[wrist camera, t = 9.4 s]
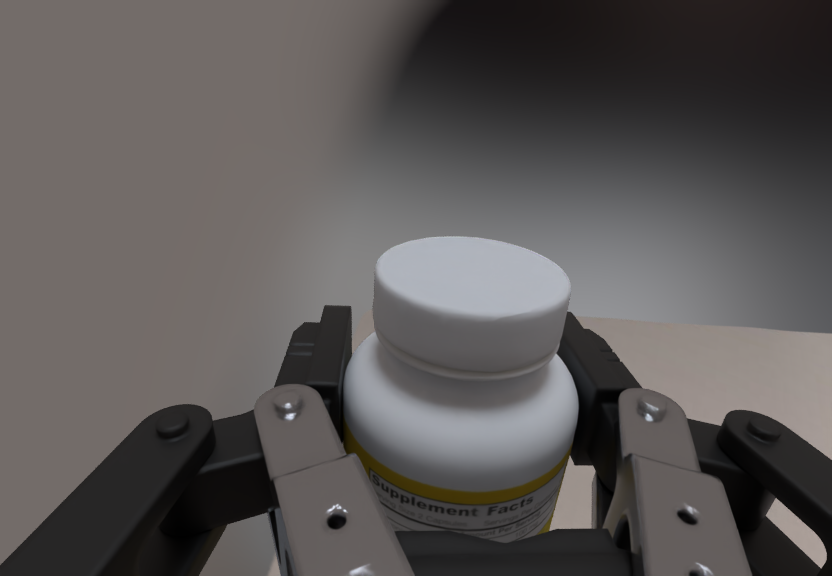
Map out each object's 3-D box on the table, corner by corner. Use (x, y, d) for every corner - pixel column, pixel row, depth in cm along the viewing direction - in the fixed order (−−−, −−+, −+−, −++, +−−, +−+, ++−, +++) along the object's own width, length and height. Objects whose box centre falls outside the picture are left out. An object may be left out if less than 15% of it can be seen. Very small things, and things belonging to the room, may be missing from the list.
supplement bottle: (384, 475, 17) (396, 213, 12) (535, 521, 15) (607, 246, 11) (308, 630, 12) (286, 295, 8) (517, 718, 11) (630, 369, 6)
